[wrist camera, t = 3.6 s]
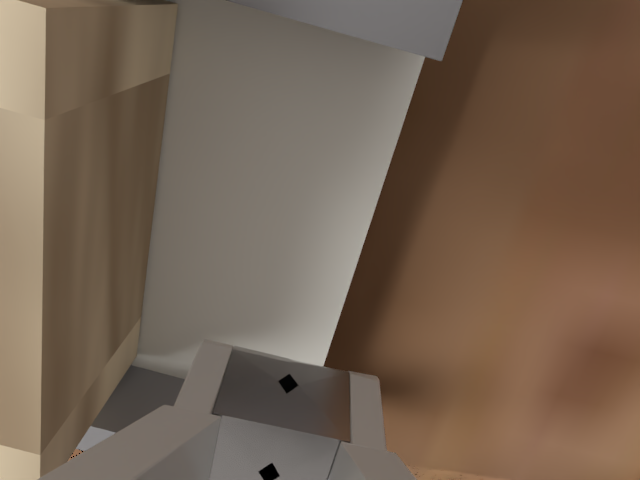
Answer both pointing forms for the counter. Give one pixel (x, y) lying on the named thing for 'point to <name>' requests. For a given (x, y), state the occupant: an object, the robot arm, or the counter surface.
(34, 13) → the socket block
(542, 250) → the counter surface
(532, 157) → the counter surface
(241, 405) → the robot arm
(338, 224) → the rail base
